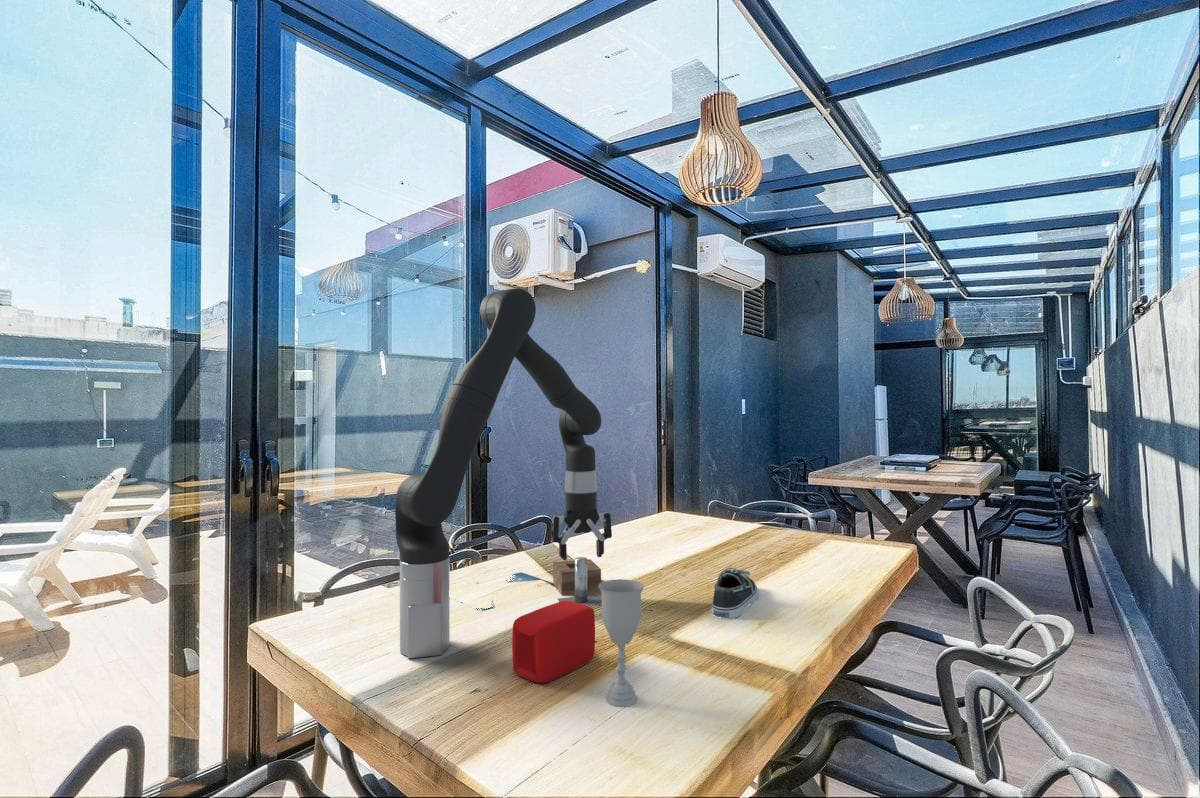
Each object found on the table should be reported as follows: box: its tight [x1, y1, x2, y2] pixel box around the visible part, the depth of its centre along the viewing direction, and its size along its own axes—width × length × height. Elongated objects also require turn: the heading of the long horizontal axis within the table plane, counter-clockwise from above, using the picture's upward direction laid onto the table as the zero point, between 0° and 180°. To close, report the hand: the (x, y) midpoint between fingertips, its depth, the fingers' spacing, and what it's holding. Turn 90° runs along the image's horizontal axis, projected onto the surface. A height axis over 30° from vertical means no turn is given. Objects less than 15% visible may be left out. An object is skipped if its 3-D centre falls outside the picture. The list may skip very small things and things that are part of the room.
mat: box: [557, 594, 602, 607], centre depth 143 cm, size 7×10×1 cm
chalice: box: [598, 578, 645, 708], centre depth 96 cm, size 7×7×18 cm
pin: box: [574, 556, 589, 603], centre depth 143 cm, size 3×3×10 cm
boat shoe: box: [710, 566, 759, 619], centre depth 143 cm, size 9×24×8 cm, turn 158°
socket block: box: [552, 558, 602, 596], centre depth 153 cm, size 10×10×6 cm
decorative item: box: [511, 601, 596, 684], centre depth 108 cm, size 15×9×10 cm, turn 141°
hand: (581, 557), depth 143 cm, fingers open, 8 cm apart
